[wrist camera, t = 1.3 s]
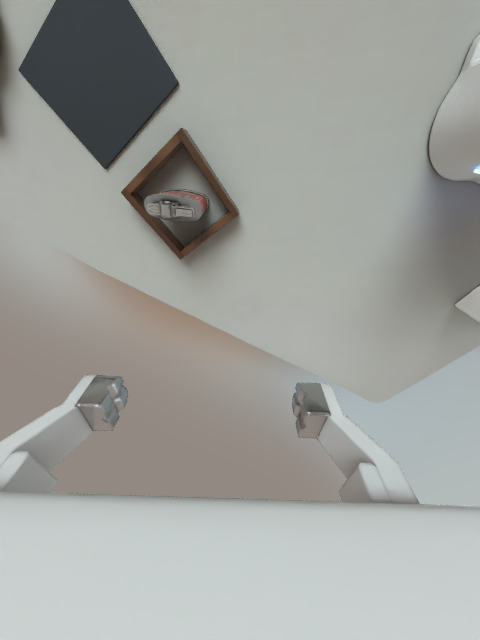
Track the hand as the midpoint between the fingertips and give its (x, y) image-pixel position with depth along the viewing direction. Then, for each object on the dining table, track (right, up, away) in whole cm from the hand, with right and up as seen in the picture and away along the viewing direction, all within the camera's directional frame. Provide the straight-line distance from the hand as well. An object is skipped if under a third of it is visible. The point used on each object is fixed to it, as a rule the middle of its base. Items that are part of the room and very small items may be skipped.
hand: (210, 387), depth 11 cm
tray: (-8, +23, +27) cm, 36 cm away
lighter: (-8, +23, +27) cm, 37 cm away
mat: (-17, +35, +19) cm, 43 cm away
